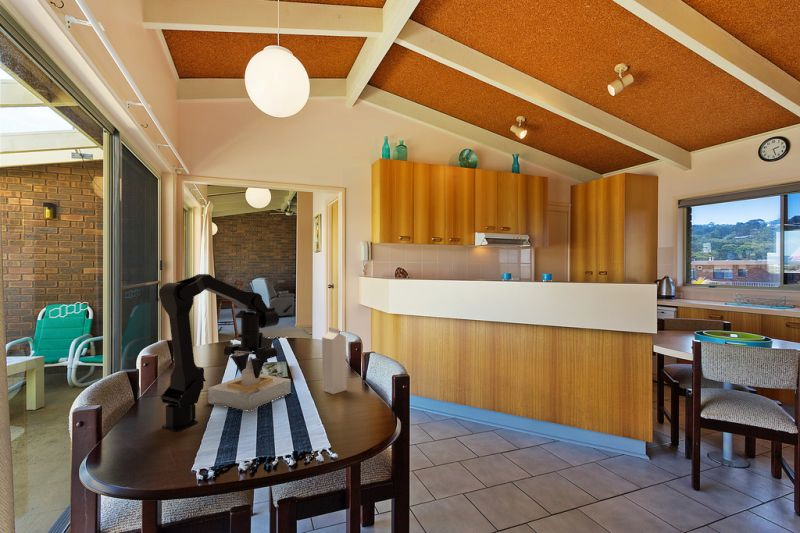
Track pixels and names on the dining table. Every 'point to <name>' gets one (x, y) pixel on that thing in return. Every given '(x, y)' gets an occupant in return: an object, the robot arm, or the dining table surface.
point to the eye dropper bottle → (249, 375)
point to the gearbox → (248, 392)
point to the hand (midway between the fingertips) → (250, 377)
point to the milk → (334, 361)
